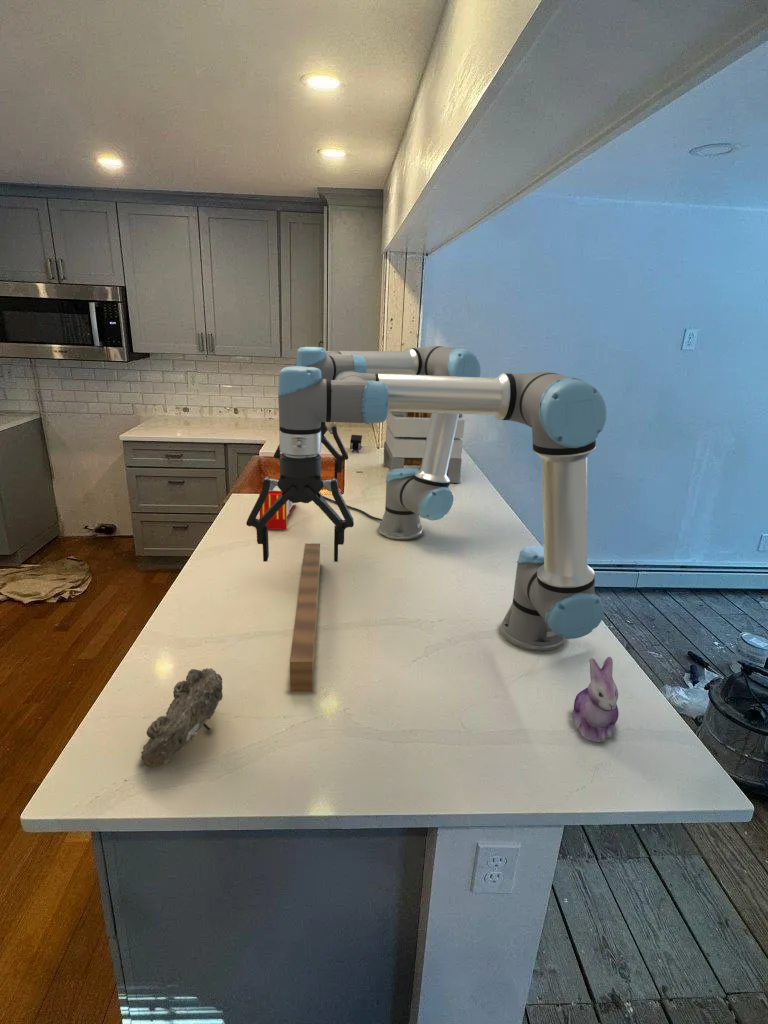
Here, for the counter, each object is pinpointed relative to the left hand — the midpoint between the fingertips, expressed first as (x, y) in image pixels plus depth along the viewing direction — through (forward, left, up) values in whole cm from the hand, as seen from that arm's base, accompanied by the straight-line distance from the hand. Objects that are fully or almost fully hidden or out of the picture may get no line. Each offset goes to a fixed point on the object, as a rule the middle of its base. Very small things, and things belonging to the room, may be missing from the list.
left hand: (311, 483), depth 159 cm
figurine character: (-113, +105, -28) cm, 156 cm away
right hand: (+41, -30, 0) cm, 51 cm away
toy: (-47, +17, -28) cm, 57 cm away
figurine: (+88, +7, -28) cm, 93 cm away
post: (+21, -15, -28) cm, 38 cm away
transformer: (-60, +103, -28) cm, 123 cm away
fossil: (+41, -54, -28) cm, 74 cm away
